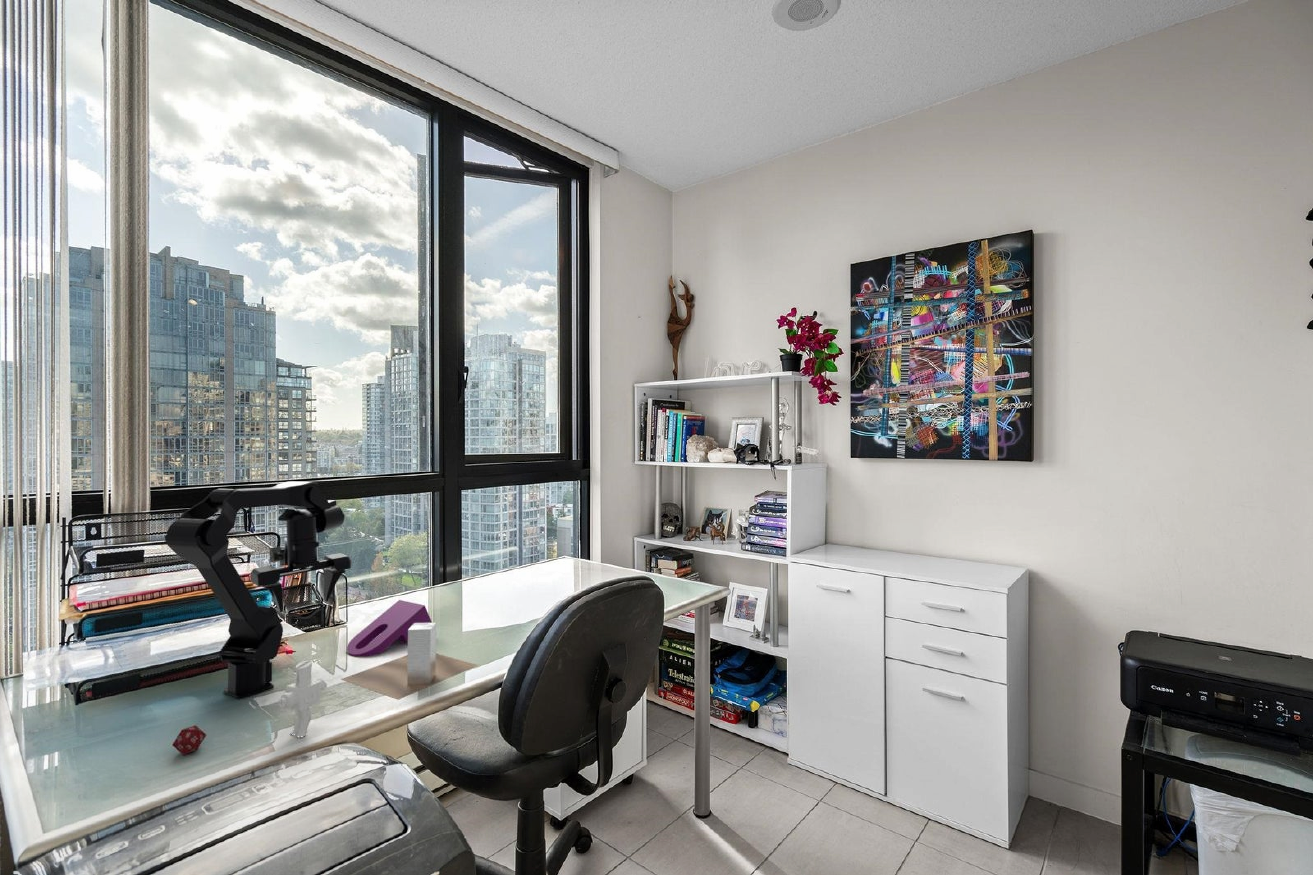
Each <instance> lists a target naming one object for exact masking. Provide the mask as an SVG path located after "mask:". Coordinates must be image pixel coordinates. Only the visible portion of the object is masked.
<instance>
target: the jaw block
mask: <svg viewBox="0 0 1313 875" xmlns="http://www.w3.org/2000/svg"><path fill="white" fill-rule="evenodd" d="M436 649H437V622H432V623H414V624H413V625H412V626H411V627H410V628H409V629H408V644H407V655H408V667H407V684H430V683H431V681H432V679H433V678H434V676H435V665H436V652H437V650H436Z"/></svg>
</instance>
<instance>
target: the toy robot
mask: <svg viewBox="0 0 1313 875" xmlns="http://www.w3.org/2000/svg"><path fill="white" fill-rule="evenodd" d="M312 665H313V662H312V661H311V660H304V661H301V662H299V663H297V664H296V666H295V677H296V678H295V682H292V683H291V684H288V685H286V693H284V694H282V695H281V696H280V699H279V700H278V705H279V707H280V708H283V709H285V710H287V709H289V708H291V709H294V711H295V717H296V718H295V721H294V725H293V730H292V732H290V734H293V736H295V735H294V734H297V735H296V736H299V737H301V736H305V735H306V734H307V735H308V728H309V726H310V725H309V724H310V722H311V719H312V715H311V709H310V707H312V706H316V705H318V704H319V703H321V692H322V691H324V690H326V689H327V687H328V686H327V682H326V681H325V680H324V679H322V678H318V679H316V680H314V679H312V668H313V666H312ZM307 735H306V736H307ZM306 736H305V737H306Z"/></svg>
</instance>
